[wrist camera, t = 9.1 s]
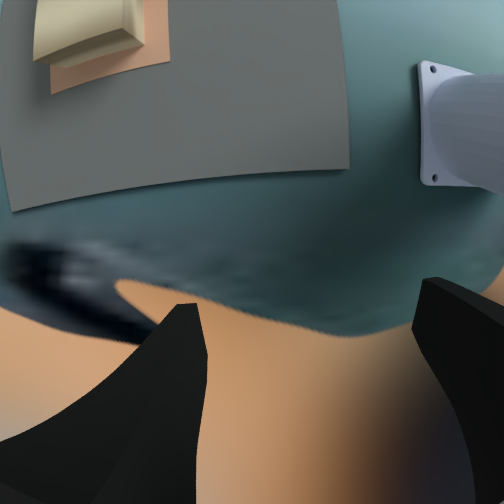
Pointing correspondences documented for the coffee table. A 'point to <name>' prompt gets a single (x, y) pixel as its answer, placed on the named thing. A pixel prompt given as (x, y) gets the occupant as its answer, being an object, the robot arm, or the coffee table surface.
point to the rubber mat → (175, 100)
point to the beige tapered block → (85, 29)
